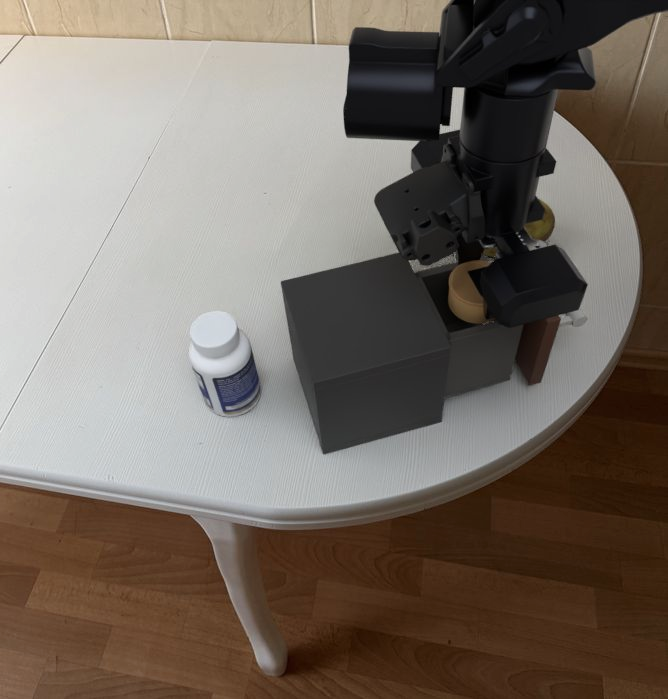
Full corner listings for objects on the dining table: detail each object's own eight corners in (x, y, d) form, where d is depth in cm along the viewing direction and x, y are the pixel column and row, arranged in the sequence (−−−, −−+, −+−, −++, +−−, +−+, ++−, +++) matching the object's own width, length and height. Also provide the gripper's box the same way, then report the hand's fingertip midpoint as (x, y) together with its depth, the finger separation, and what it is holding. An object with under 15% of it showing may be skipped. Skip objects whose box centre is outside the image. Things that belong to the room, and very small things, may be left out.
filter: (516, 294, 60) (521, 274, 58) (489, 333, 58) (493, 314, 56) (463, 272, 62) (466, 252, 60) (436, 309, 59) (437, 289, 57)
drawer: (537, 294, 70) (554, 227, 63) (584, 370, 64) (610, 306, 57) (403, 328, 68) (406, 263, 61) (440, 410, 62) (447, 348, 55)
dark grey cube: (401, 330, 69) (404, 250, 61) (441, 422, 63) (451, 347, 54) (293, 358, 68) (280, 280, 59) (323, 454, 61) (313, 383, 53)
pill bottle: (270, 378, 67) (256, 311, 59) (248, 425, 64) (229, 361, 56) (219, 365, 68) (198, 298, 60) (194, 410, 65) (169, 345, 57)
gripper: (346, 86, 51) (354, 242, 64) (439, 260, 40) (426, 408, 52) (489, 56, 52) (469, 214, 65) (617, 216, 41) (564, 370, 54)
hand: (478, 294), depth 59 cm, fingers closed on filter, 5 cm apart
